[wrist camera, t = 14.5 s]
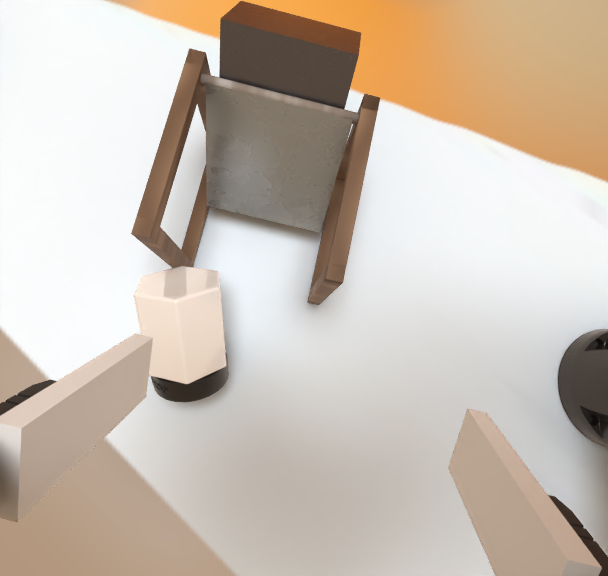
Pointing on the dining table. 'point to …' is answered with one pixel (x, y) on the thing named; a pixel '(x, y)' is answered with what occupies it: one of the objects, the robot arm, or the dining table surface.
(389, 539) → the dining table surface
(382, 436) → the dining table surface
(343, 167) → the trapdoor frame
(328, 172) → the trapdoor
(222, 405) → the dining table surface
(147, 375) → the robot arm
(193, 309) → the jar
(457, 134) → the dining table surface
